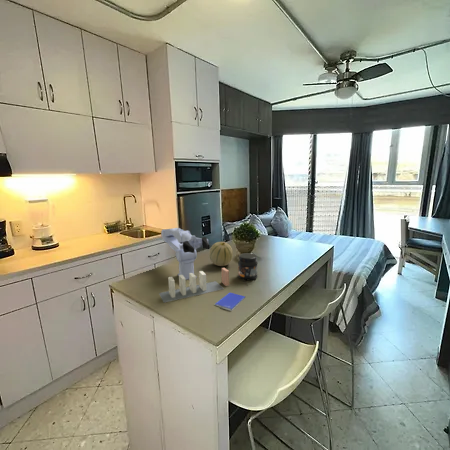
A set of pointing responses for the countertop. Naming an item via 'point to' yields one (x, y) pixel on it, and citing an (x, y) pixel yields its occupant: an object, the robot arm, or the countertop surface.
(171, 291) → the domino
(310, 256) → the countertop surface
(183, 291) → the domino
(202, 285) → the domino
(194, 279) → the domino
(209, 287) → the domino mat
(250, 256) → the supplement container
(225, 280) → the salmon orange end domino
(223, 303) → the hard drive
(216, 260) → the beige rounded lump
